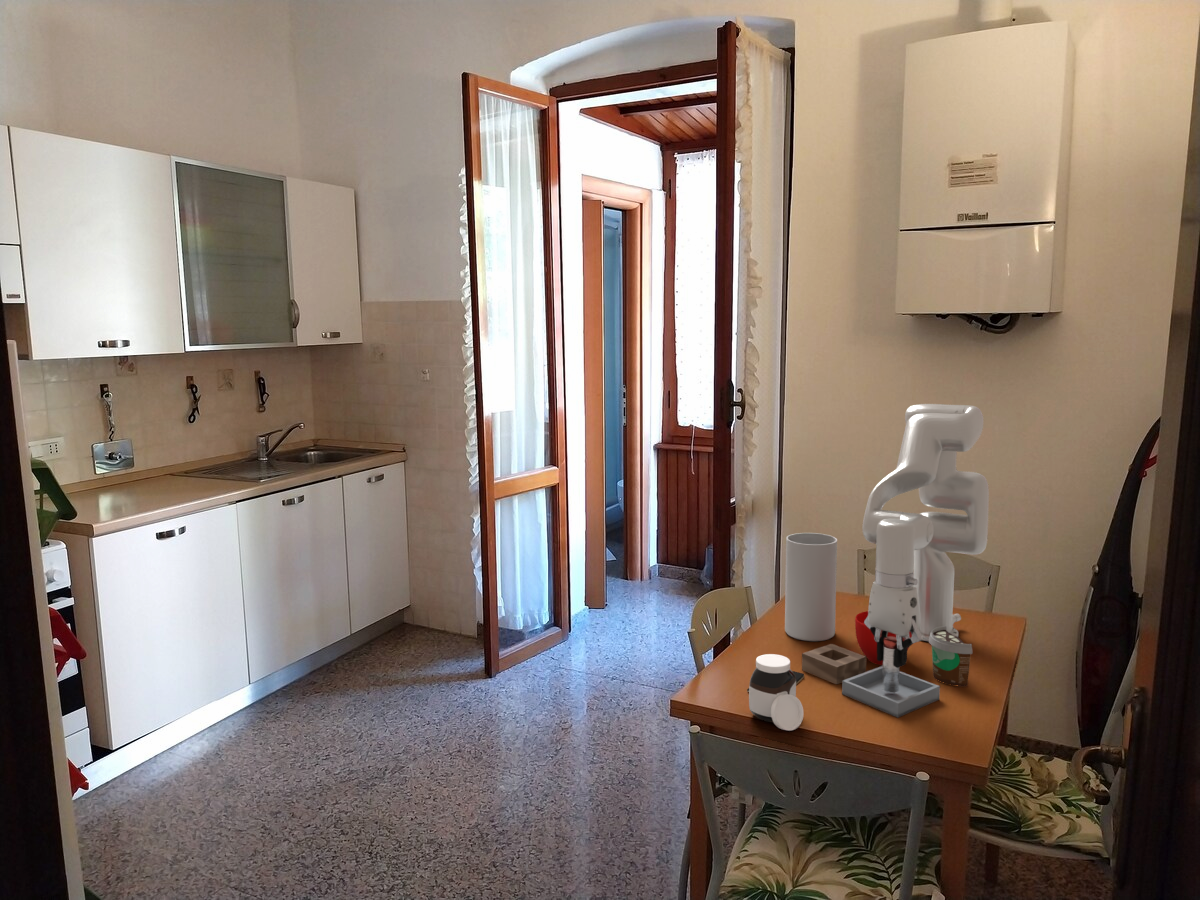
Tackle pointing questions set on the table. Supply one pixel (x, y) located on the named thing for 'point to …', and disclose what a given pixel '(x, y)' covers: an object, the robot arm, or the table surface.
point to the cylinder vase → (810, 586)
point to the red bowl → (868, 638)
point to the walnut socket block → (833, 663)
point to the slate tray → (894, 703)
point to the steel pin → (890, 666)
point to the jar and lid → (775, 692)
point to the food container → (950, 657)
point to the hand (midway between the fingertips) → (891, 661)
